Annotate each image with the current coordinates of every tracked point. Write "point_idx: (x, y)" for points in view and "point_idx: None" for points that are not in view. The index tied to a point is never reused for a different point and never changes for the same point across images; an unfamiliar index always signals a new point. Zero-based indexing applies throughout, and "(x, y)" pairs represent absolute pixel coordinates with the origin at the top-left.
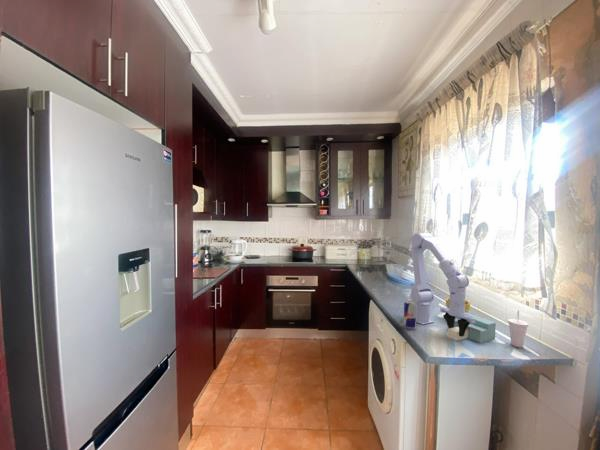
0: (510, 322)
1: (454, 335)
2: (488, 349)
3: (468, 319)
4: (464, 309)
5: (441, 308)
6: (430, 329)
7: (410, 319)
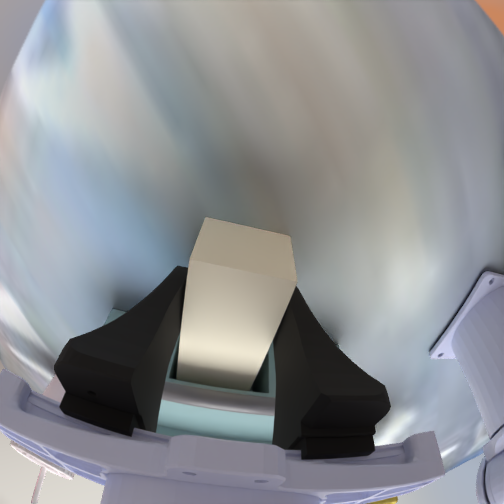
0: (38, 455)
1: (217, 239)
2: (48, 265)
3: (19, 410)
4: None
5: (431, 471)
6: (432, 247)
7: None
